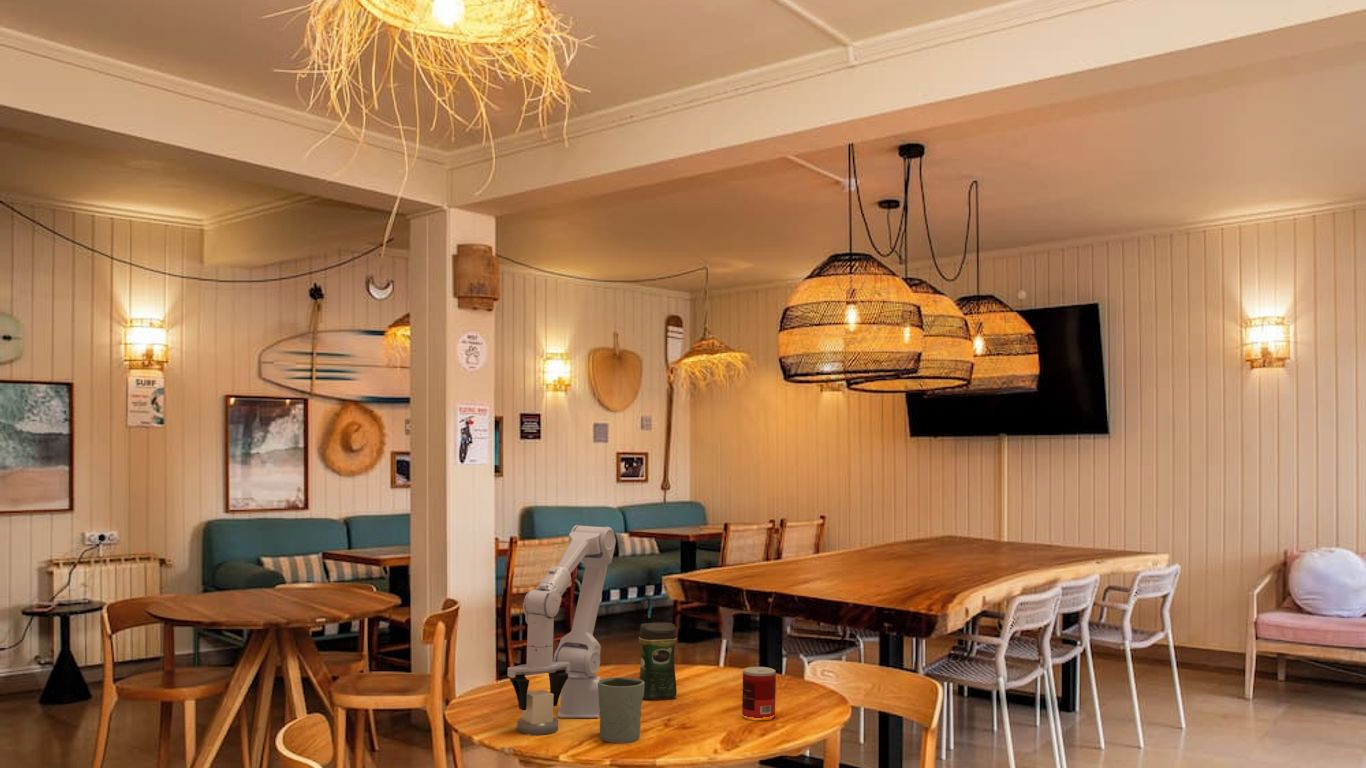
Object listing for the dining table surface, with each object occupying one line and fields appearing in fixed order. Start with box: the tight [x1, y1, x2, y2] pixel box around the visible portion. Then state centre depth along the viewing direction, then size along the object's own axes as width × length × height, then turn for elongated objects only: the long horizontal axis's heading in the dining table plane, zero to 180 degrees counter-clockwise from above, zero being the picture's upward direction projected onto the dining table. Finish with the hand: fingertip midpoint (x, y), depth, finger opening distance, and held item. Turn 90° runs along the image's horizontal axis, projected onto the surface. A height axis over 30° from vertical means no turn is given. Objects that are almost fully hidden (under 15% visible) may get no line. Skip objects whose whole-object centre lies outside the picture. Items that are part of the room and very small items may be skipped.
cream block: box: [521, 689, 554, 724], centre depth 235 cm, size 5×5×6 cm
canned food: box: [741, 666, 777, 718], centre depth 251 cm, size 8×8×11 cm
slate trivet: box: [516, 716, 559, 736], centre depth 235 cm, size 9×9×2 cm
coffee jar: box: [638, 622, 678, 700], centre depth 269 cm, size 10×8×19 cm
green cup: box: [598, 676, 644, 744], centre depth 230 cm, size 10×10×12 cm
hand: (538, 707), depth 235 cm, fingers open, 7 cm apart
